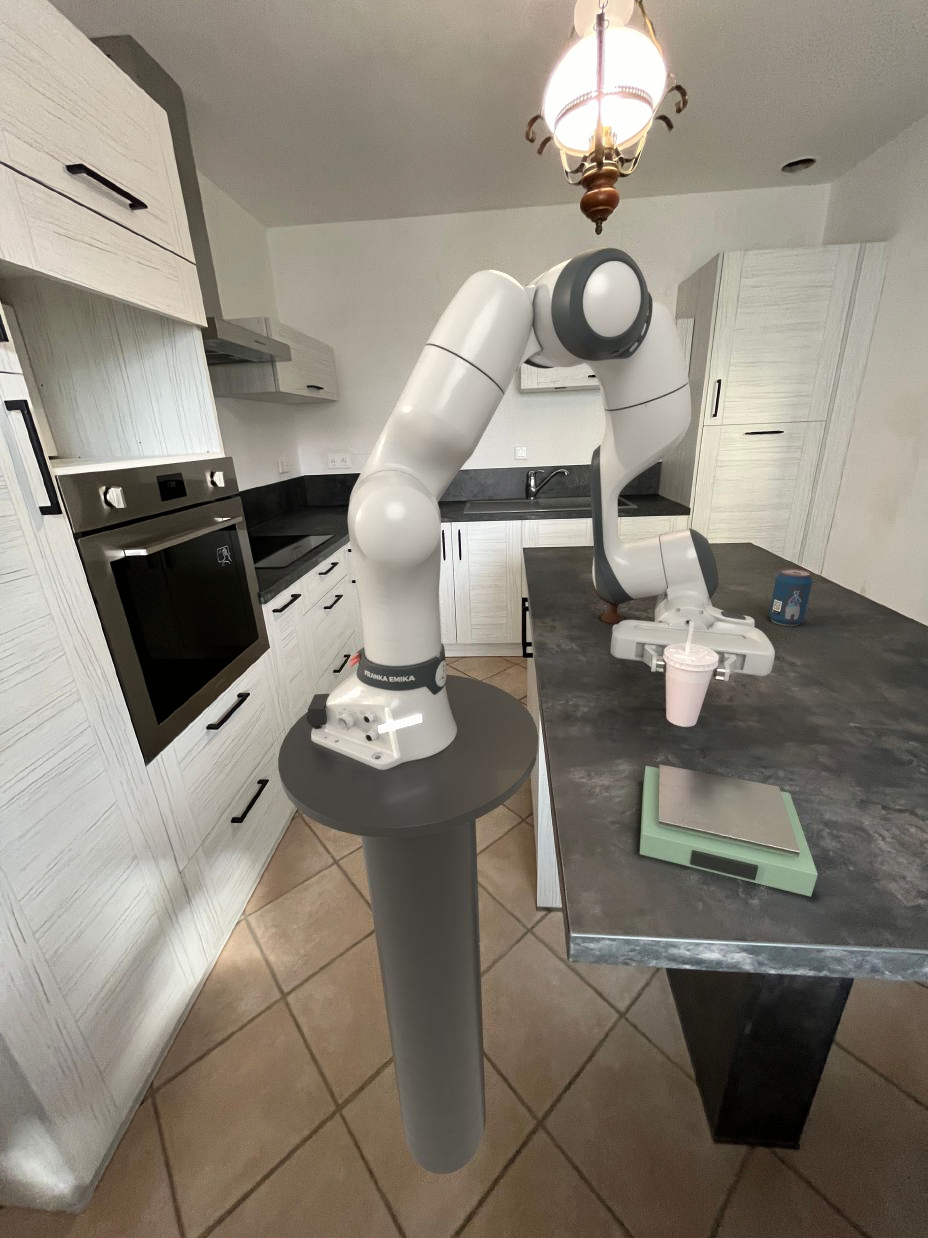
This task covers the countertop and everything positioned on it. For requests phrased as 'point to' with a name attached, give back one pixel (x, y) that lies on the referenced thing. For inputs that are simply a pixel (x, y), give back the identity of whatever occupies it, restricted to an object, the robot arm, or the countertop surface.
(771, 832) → the scale pan
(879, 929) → the countertop surface
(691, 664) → the smoothie
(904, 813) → the countertop surface
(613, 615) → the ice cream bowl
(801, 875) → the kitchen scale
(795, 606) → the soda can
